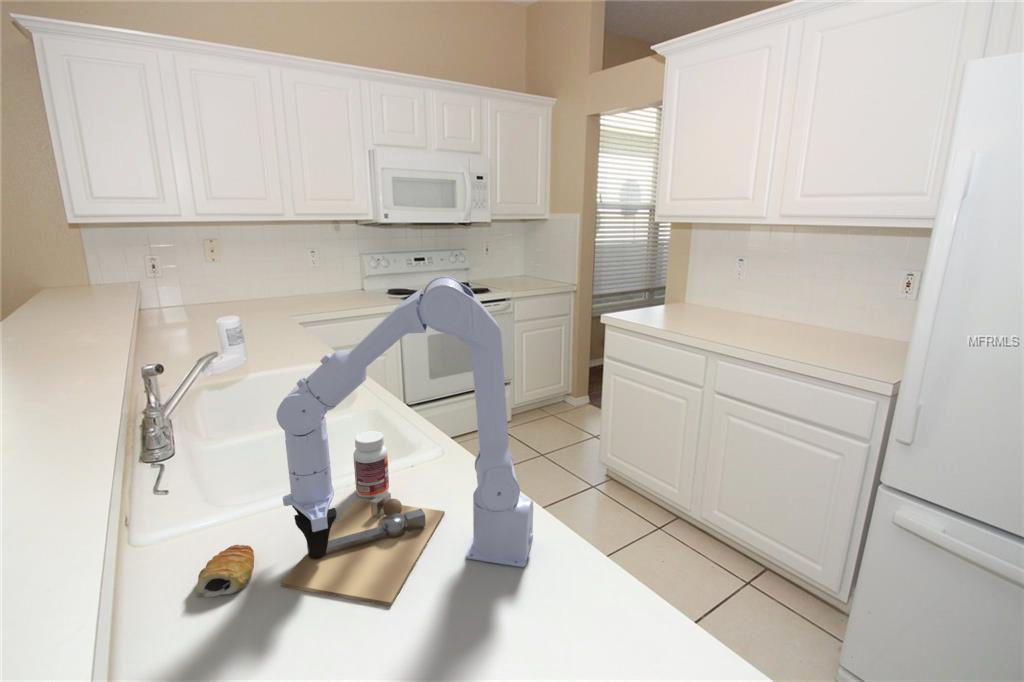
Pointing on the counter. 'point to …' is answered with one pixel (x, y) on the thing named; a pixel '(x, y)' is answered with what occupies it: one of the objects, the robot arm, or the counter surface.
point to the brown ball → (392, 506)
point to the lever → (377, 532)
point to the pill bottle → (370, 464)
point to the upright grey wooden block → (379, 504)
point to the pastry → (226, 572)
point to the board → (365, 559)
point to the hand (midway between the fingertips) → (317, 545)
